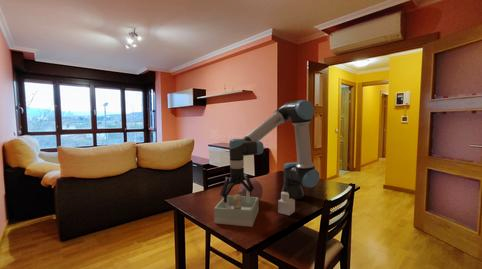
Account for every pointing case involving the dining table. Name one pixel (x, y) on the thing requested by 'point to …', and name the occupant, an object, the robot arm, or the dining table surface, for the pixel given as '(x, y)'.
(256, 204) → the box
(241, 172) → the robot arm
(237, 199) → the dowel
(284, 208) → the medicine bottle
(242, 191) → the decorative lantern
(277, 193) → the dining table surface
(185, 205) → the dining table surface
